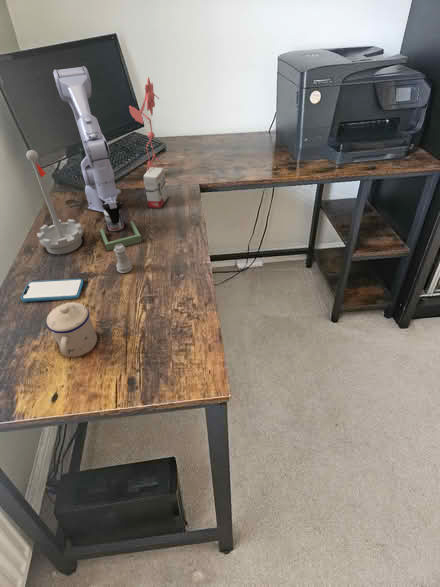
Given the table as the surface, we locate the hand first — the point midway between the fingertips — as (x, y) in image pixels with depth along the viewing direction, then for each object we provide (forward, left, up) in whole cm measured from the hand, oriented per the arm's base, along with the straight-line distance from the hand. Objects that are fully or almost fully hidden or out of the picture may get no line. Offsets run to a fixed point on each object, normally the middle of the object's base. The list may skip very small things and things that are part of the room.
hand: (114, 218), depth 126 cm
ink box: (+4, +20, -4) cm, 21 cm away
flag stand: (-9, -15, -4) cm, 18 cm away
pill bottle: (0, 0, -3) cm, 3 cm away
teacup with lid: (+25, -47, -4) cm, 53 cm away
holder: (+5, -4, -3) cm, 8 cm away
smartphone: (+5, -34, -4) cm, 34 cm away
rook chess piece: (+17, -18, -4) cm, 25 cm away
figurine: (-9, +44, -4) cm, 45 cm away
